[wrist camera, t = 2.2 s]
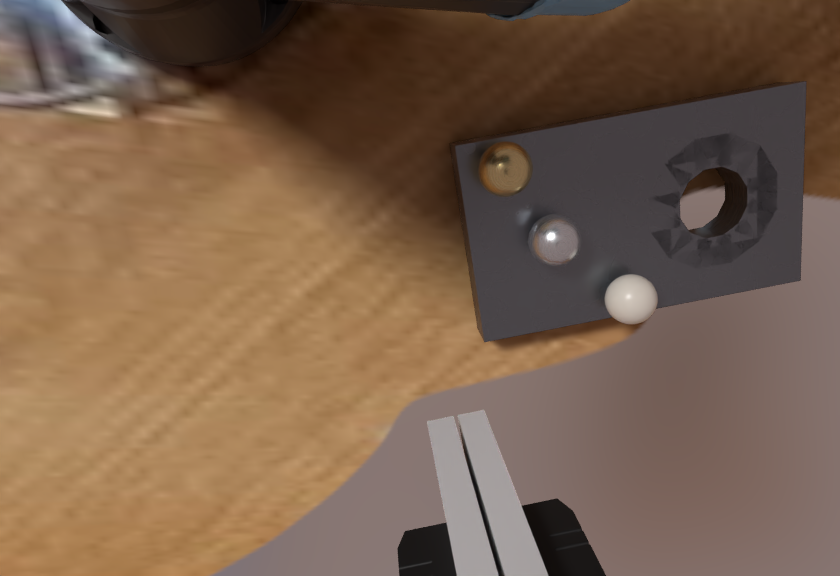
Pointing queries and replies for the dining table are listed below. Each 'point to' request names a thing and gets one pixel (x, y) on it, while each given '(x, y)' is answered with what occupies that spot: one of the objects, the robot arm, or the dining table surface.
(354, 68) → the dining table surface
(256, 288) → the dining table surface
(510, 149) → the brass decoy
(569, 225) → the steel ball
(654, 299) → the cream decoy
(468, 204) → the plate
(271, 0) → the robot arm
